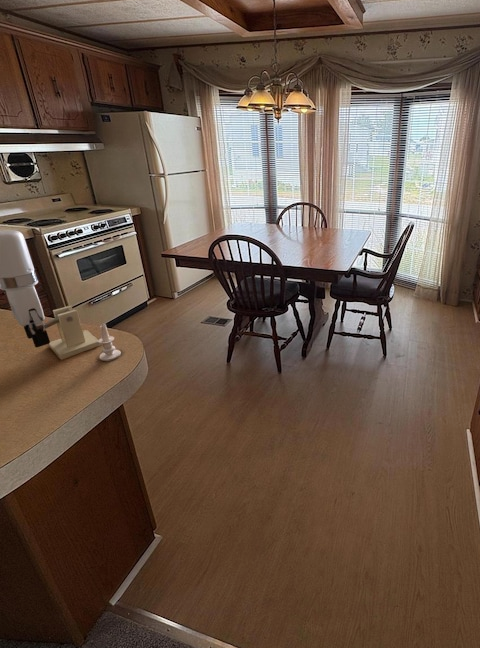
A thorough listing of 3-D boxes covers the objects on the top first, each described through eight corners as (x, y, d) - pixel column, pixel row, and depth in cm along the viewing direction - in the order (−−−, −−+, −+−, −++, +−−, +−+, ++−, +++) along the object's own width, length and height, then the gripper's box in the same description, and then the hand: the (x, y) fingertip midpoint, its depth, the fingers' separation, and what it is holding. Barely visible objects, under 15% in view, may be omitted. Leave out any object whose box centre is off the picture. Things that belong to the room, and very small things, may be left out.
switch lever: (37, 340, 91) (32, 333, 89) (30, 332, 94) (25, 325, 93) (77, 320, 97) (73, 313, 96) (70, 313, 100) (65, 307, 99)
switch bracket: (61, 359, 94) (49, 322, 90) (49, 346, 100) (37, 310, 96) (100, 345, 102) (91, 309, 97) (87, 334, 107) (78, 300, 103)
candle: (105, 363, 94) (97, 330, 90) (95, 357, 96) (87, 324, 92) (124, 354, 98) (117, 322, 94) (114, 348, 100) (106, 317, 96)
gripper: (-10, 275, 89) (13, 335, 96) (7, 293, 79) (31, 358, 86) (26, 268, 94) (45, 325, 101) (46, 284, 84) (66, 346, 91)
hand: (38, 340), depth 93 cm, fingers closed on switch lever, 6 cm apart
